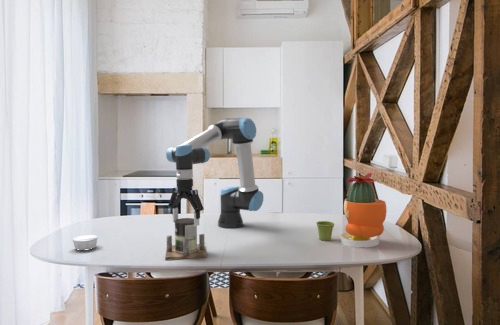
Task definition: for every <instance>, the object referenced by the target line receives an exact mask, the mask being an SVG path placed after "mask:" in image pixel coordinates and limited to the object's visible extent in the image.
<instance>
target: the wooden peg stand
mask: <svg viewBox="0 0 500 325" xmlns="http://www.w3.org/2000/svg"><path fill="white" fill-rule="evenodd" d="M172 237H173V236H172V235H167V236H166V250H165V256H164V257H165V258H164V259H165V261H167V260H166V259H174V260H186V259H185V258H192V259H206V258H207V252H206V251H207V250H206V247H205V246H206V245H205V243H206V242H205V234H204V233H200V234H198V238H199V242H198V243H197V251H195V252H192V253H189V243H188V239H183V253H178V252H176V251H175V244H174V245H173V238H172Z"/></svg>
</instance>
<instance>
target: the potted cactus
mask: <svg viewBox="0 0 500 325" xmlns="http://www.w3.org/2000/svg"><path fill="white" fill-rule="evenodd" d="M372 175H373V174H372V173H369V172H367V173H366V174H365V175H362V176H360V175H358V176H356V175H354V176H351V177H348V179H347V178H346V182H348V183H351V184H350V185H351V186H349V189H347V192H346V193H347V194H346V198H345V199H344V202H343V212H344V216H345V219H346V220H347V224H346V225H345V226H344V227H345V229H344V230H345V231H346V232H344V233H342V234H341V238H340V240H341V242H340V243H341V244H342V245H344V246H345V245H346V247H350V248H356V247H365V248H372V247H376V246H378V245H379V244H380V236H381V235H382V234H383V233H384V230H385V228H384V222H385V220H386V217H387V202H386V201H385V200H382V199H378V198H376V197H377V195H376V193H375V189H374V187H373V183H375V182H376V181H377V179H373V178H372V179H370V178H371V177H372ZM349 238H351V239H349Z"/></svg>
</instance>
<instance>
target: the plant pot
mask: <svg viewBox="0 0 500 325" xmlns="http://www.w3.org/2000/svg"><path fill="white" fill-rule="evenodd" d="M315 224H316V226H317V231H318V232H317V233H318V240H320V241H325V242H327V241H331V240H332V235H333V230H334V226H335V223H334V221H333V222H332V221H328V220H321V221H317V222H316V223H315Z"/></svg>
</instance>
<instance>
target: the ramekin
mask: <svg viewBox="0 0 500 325" xmlns="http://www.w3.org/2000/svg"><path fill="white" fill-rule="evenodd" d="M98 239H99V238H98V235H95V234H85V235H78V236H75V237H73V238H72V242H73V247H74V249H75V250H76V249H79V250H85V249H91V248H94V247H95V248H96V247H97V243H98ZM95 248H94V249H95Z"/></svg>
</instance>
